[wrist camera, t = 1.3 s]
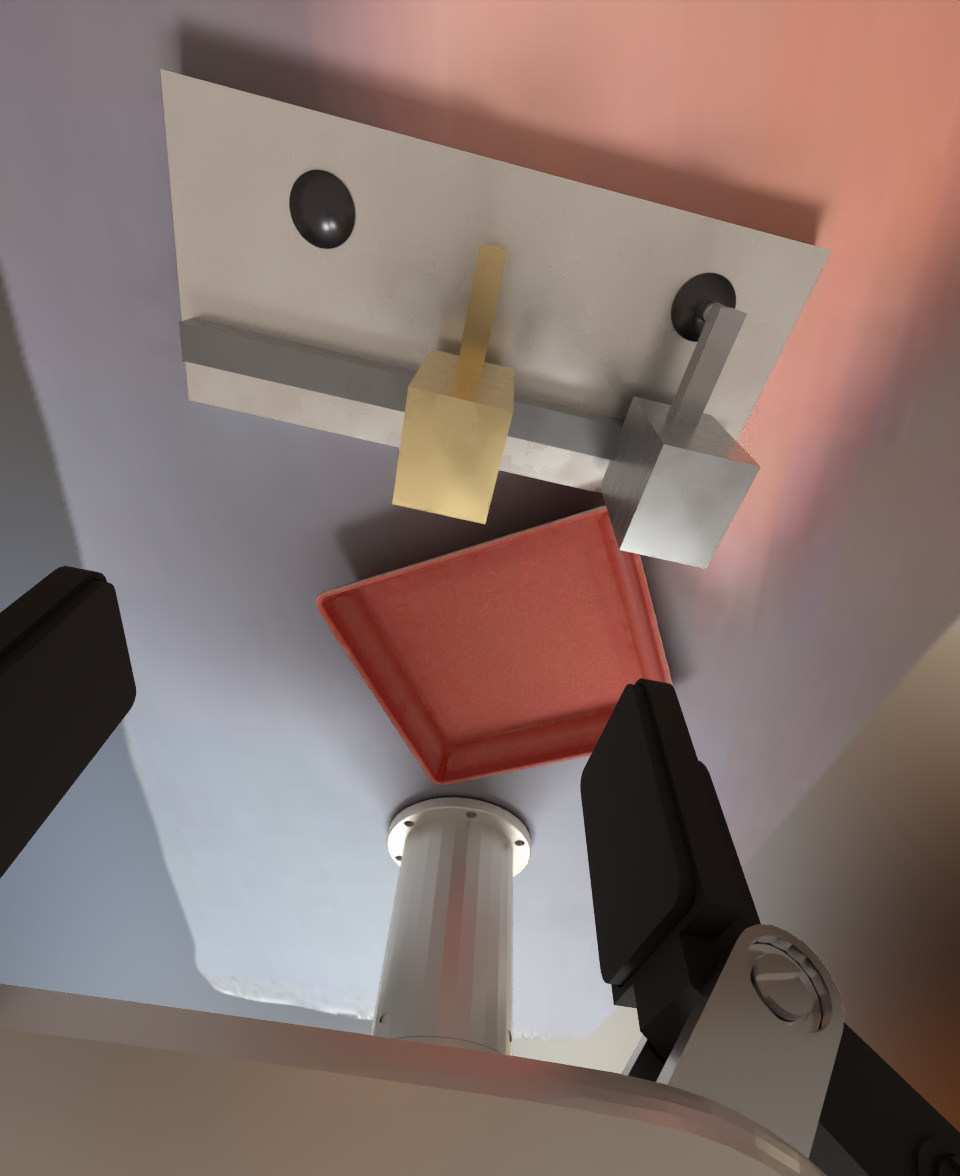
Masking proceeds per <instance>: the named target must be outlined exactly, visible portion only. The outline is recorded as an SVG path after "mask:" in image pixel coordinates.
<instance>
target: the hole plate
mask: <svg viewBox="0 0 960 1176" xmlns="http://www.w3.org/2000/svg"><path fill="white" fill-rule="evenodd" d="M160 70H161V82H162V93H163V105H164V117H165V128H166V140H167V152H168V163H169V175H170V187H171V198H172V210H173V222H174V233H175V245H176V257H177V269H178V280H179V292H180V304H181V315H182V321H181V322H179V324H180V335H181V346H182V358H183V361H185V362H186V374H187V385H188V397H189V400H191V401H195V402H200V403H204V404H209V405H213V406H218V407H222V408H226V409H231V410H235V411H240V412H244V413H248V414H253V415H257V416H262V417H266V418H271V419H275V420H279V421H284V422H288V423H293V424H297V425H302V426H306V427H310V428H315V429H319V430H324V431H328V432H332V433H337V434H341V435H346V436H350V437H355V438H359V439H363V440H368V441H372V442H377V443H381V444H385V445H390V446H394V447H399V448H400V443H401V435H402V428H403V421H404V414H405V406H406V399H407V392H408V386H409V385H410V383H411V381H412V380H413V378H414V376H415V375H416V373H417V371H418V370H419V368H420V366H421V365H422V363H423V361H424V360H425V358H426V356H427V355H428V353H429V352H430V350H431V349H433V350H437V351H442V352H446V353H450V354H454V355H458V356H459V354H460V349H461V343H462V338H463V332H464V327H465V322H466V316H467V311H468V305H469V300H470V294H471V289H472V283H473V278H474V273H475V267H476V262H477V256H478V251H479V245H480V244H481V243H482V244H486V245H490V244H498V245H499V246H500V247H501V248H502V249H505V250H508V251H507V256H506V261H505V265H504V270H503V275H502V280H501V284H500V289H499V294H498V299H497V304H496V308H495V313H494V318H493V323H492V327H491V332H490V337H489V342H488V347H487V351H486V356H485V361H484V362H487V363H491V364H495V365H500V366H504V367H508V368H512V369H514V412H513V416H512V420H511V424H510V427H509V431H508V435H507V439H506V443H505V447H504V451H503V455H502V459H501V463H500V467H499V470H500V471H505V472H509V473H514V474H518V475H522V476H527V477H531V478H536V479H540V480H545V481H549V482H553V483H558V484H562V485H567V486H571V487H575V488H580V489H584V490H589V491H593V492H598V493H602V494H603V498H604V501H605V504H606V508H607V511H608V514H609V517H610V521H611V524H612V527H613V531H614V534H615V537H616V540H617V544H618V547H619V550H622V551H627V552H631V553H636V554H640V555H645V556H650V557H654V558H659V559H663V560H668V561H672V562H677V563H682V564H686V565H691V566H695V567H700V568H704V569H706V567H707V566H708V564H709V562H710V560H711V558H712V556H713V554H714V553H715V551H716V549H717V547H718V545H719V543H720V541H721V540H722V538H723V536H724V534H725V532H726V530H727V528H728V527H729V525H730V523H731V521H732V519H733V517H734V515H735V513H736V512H737V510H738V508H739V506H740V504H741V502H742V500H743V499H744V497H745V495H746V493H747V491H748V489H749V487H750V486H751V484H752V482H753V480H754V478H755V476H756V474H757V473H758V471H759V469H760V466H759V465H758V464H757V463H756V462H755V461H754V459H753V458H752V457H751V456H750V455H749V454H748V453H747V452H746V451H745V450H744V449H743V448H742V447H741V446H740V445H739V444H738V443H737V440H738V438H739V436H740V434H741V432H742V430H743V428H744V426H745V424H746V422H747V420H748V418H749V416H750V414H751V412H752V410H753V408H754V406H755V404H756V402H757V400H758V398H759V395H760V393H761V391H762V389H763V387H764V385H765V383H766V381H767V379H768V377H769V375H770V373H771V371H772V369H773V367H774V365H775V363H776V361H777V359H778V357H779V355H780V353H781V351H782V349H783V347H784V345H785V343H786V341H787V339H788V337H789V335H790V333H791V331H792V329H793V327H794V325H795V323H796V321H797V319H798V317H799V315H800V313H801V311H802V309H803V307H804V305H805V303H806V301H807V299H808V297H809V295H810V293H811V291H812V289H813V287H814V285H815V283H816V281H817V279H818V277H819V275H820V273H821V271H822V269H823V267H824V265H825V263H826V261H827V259H828V257H829V255H830V253H831V251H832V250H828V249H825V248H821V247H817V246H814V245H810V244H806V243H803V242H799V241H795V240H791V239H788V238H784V237H780V236H777V235H773V234H769V233H766V232H762V231H758V230H754V229H751V228H747V227H743V226H740V225H736V224H732V223H729V222H725V221H721V220H717V219H714V218H710V217H706V216H703V215H699V214H695V213H692V212H688V211H684V210H680V209H677V208H673V207H669V206H666V205H662V204H658V203H655V202H651V201H647V200H643V199H640V198H636V197H632V196H629V195H625V194H621V193H618V192H614V191H610V190H607V189H603V188H599V187H595V186H592V185H588V184H584V183H581V182H577V181H573V180H570V179H566V178H562V177H558V176H555V175H551V174H547V173H544V172H540V171H536V170H533V169H529V168H525V167H521V166H518V165H514V164H510V163H507V162H503V161H499V160H496V159H492V158H488V157H484V156H481V155H477V154H473V153H470V152H466V151H462V150H459V149H455V148H451V147H447V146H444V145H440V144H436V143H433V142H429V141H425V140H422V139H418V138H414V137H411V136H407V135H403V134H399V133H396V132H392V131H388V130H385V129H381V128H377V127H374V126H370V125H366V124H362V123H359V122H355V121H351V120H348V119H344V118H340V117H337V116H333V115H329V114H325V113H322V112H318V111H314V110H311V109H307V108H303V107H300V106H296V105H292V104H288V103H285V102H281V101H277V100H274V99H270V98H266V97H263V96H259V95H255V94H251V93H248V92H244V91H240V90H237V89H233V88H229V87H226V86H222V85H218V84H214V83H211V82H207V81H203V80H200V79H196V78H192V77H189V76H185V75H181V74H178V73H174V72H170V71H166V70H163V69H160Z"/></svg>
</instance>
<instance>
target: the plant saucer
mask: <svg viewBox="0 0 960 1176" xmlns="http://www.w3.org/2000/svg"><path fill="white" fill-rule="evenodd" d="M315 603H316V606H317V609H318V611H319V612H320V613H321V615H322V616H323V618H324V619H325V621H326V622H327V624H328V625H329V627H330V629H331V630H332V632H333V633H334V635H335V636H336V638H337V640H338V641H339V643H340V644H341V646H342V647H343V648H344V650H345V651H346V653H347V655H348V656H349V658H350V659H351V661H352V662H353V664H354V665H355V667H356V669H357V670H358V671H359V673H360V675H361V676H362V678H363V679H364V681H365V683H366V684H367V686H368V687H369V689H370V690H371V691H372V693H373V694H374V696H375V697H376V699H377V700H378V702H379V703H380V705H381V706H382V708H383V710H384V711H385V712H386V714H387V716H388V717H389V718H390V720H391V722H392V723H393V725H394V726H395V727H396V729H397V730H398V732H399V734H400V735H401V737H402V738H403V740H404V741H405V743H406V744H407V746H408V747H409V748H410V750H411V752H412V753H413V755H414V756H415V758H416V759H417V761H418V762H419V763H420V765H421V767H422V768H423V770H424V772H425V773H426V774H427V776H428V777H429V779H430V780H431V781H432V782H433V783H435V784H439V785H447V784H452V783H458V782H463V781H468V780H473V779H477V778H483V777H487V776H492V775H497V774H502V773H507V772H512V771H517V770H522V769H526V768H532V767H536V766H542V765H547V764H551V763H556V762H562V761H565V760H572V759H577V758H581V757H586V756H591V754H592V752H593V750H594V748H595V746H596V744H597V742H598V740H599V738H600V736H601V734H602V732H603V730H604V728H605V726H606V724H607V722H608V720H609V718H610V716H611V714H612V712H613V710H614V708H615V706H616V704H617V702H618V700H619V698H620V696H621V694H622V692H623V690H624V688H625V687H626V685H628V684H635V683H636V681H637V680H638V679H640V678H644V679H649V680H654V681H659V682H664V683H670V684H671V685H672V686H673V683H672V680H671V676H670V670H669V666H668V663H667V659H666V656H665V652H664V648H663V643H662V640H661V636H660V632H659V628H658V622H657V618H656V615H655V612H654V607H653V604H652V600H651V595H650V592H649V589H648V584H647V579H646V575H645V572H644V568H643V564H642V560H641V556H640V554H636V553H631V552H627V551H622V550H619V547H618V544H617V540H616V537H615V534H614V531H613V527H612V524H611V521H610V517H609V514H608V511H607V508H606V505H602V506H599V507H596V508H593V509H590V510H587V511H583V512H580V513H577V514H573V515H570V516H567V517H564V518H560V519H557V520H554V521H551V522H548V523H544V524H541V525H538V526H535V527H531V528H528V529H525V530H522V531H518V532H515V533H512V534H509V535H505V536H502V537H499V538H496V539H492V540H489V541H486V542H483V543H480V544H476V545H473V546H470V547H467V548H463V549H460V550H457V551H454V552H451V553H447V554H444V555H441V556H438V557H434V558H431V559H428V560H425V561H422V562H418V563H415V564H412V565H409V566H405V567H402V568H399V569H396V570H392V571H389V572H386V573H382V574H379V575H376V576H373V577H369V578H366V579H363V580H359V581H356V582H353V583H350V584H346V585H343V586H340V587H337V588H333V589H330V590H327V591H324V592H322V593H320V594H319V595H318V596H317V598H316V601H315Z"/></svg>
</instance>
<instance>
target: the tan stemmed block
mask: <svg viewBox="0 0 960 1176" xmlns="http://www.w3.org/2000/svg"><path fill="white" fill-rule="evenodd" d="M507 251H508V250H505V249H502V248H501V247H500V246H499V245H498V244H490V245H486V244H482V243H481V244H480V245H479V251H478V256H477V262H476V267H475V273H474V278H473V283H472V289H471V294H470V300H469V305H468V311H467V316H466V322H465V327H464V332H463V338H462V343H461V349H460V354H459V356H458V355H454V354H450V353H446V352H442V351H437V350H433V349H431V350H430V352H429V353H428V355H427V356H426V358H425V360H424V361H423V363H422V365H421V366H420V368H419V370H418V371H417V373H416V375H415V376H414V378H413V380H412V381H411V383H410V385H409V386H408V392H407V399H406V406H405V414H404V421H403V428H402V435H401V443H400V450H399V457H398V464H397V472H396V479H395V486H394V494H393V501H392V504H395V505H399V506H404V507H408V508H413V509H418V510H422V511H427V512H431V513H436V514H440V515H445V516H450V517H454V518H459V519H463V520H468V521H473V522H477V523H482V524H485V523H486V519H487V515H488V511H489V507H490V503H491V499H492V495H493V491H494V487H495V483H496V479H497V475H498V471H499V467H500V463H501V459H502V455H503V451H504V447H505V443H506V439H507V435H508V431H509V427H510V424H511V420H512V416H513V412H514V369H512V368H508V367H504V366H500V365H495V364H491V363H487V362H484V361H485V356H486V351H487V347H488V342H489V337H490V332H491V327H492V323H493V318H494V313H495V308H496V304H497V299H498V294H499V289H500V284H501V280H502V275H503V270H504V265H505V261H506V256H507Z"/></svg>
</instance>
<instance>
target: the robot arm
mask: <svg viewBox="0 0 960 1176" xmlns="http://www.w3.org/2000/svg"><path fill="white" fill-rule="evenodd" d="M135 697H136V686H135V682H134V677H133V672H132V667H131V663H130V658H129V653H128V648H127V644H126V639H125V634H124V629H123V625H122V620H121V615H120V610H119V606H118V601H117V596H116V591H115V588H114V586H113V585H112V584H111V583H107V581H106V578H105V576H104V575H103V574H102V573H99V572H94V571H89V570H84V569H79V568H74V567H68V566H63V567H59V568H58V569H56V570H55V571H53V572H52V573H50V574H49V575H48V576H47V577H45V578H44V579H43V580H42V581H40V582H39V583H38V584H37V585H35V586H34V587H33V588H31V589H30V590H29V591H28V592H26V593H25V594H24V595H22V596H21V597H20V598H19V599H17V600H16V601H15V602H14V603H12V604H11V605H10V606H8V607H7V608H6V609H5V610H3V611H2V612H1V613H0V878H1V877H2V876H3V874H4V873H5V872H6V870H7V869H8V868H9V867H10V865H11V864H12V863H13V861H14V860H15V859H16V857H17V856H18V855H19V853H20V852H21V851H22V850H23V848H24V847H25V846H26V844H27V843H28V842H29V840H30V839H31V838H32V836H33V835H34V834H35V833H36V831H37V830H38V829H39V827H40V826H41V825H42V824H43V822H44V821H45V820H46V818H47V817H48V816H49V814H50V813H51V812H52V811H53V809H54V808H55V807H56V805H57V804H58V803H59V801H60V800H61V799H62V798H63V796H64V795H65V794H66V792H67V791H68V790H69V788H70V787H71V786H72V784H73V783H74V781H76V779H77V778H78V777H79V775H80V774H81V773H82V771H83V770H84V769H85V767H86V766H87V765H88V764H89V762H90V761H91V760H92V758H93V757H94V756H95V755H96V753H97V752H98V751H99V749H100V748H101V747H102V745H103V744H104V743H105V742H106V740H107V739H108V738H109V736H110V735H111V733H112V732H113V731H114V730H115V729H116V727H117V726H118V725H119V723H120V722H121V721H122V719H123V718H124V717H125V716H126V714H127V713H128V712H129V710H130V709H131V707H132V705H133V703H134V700H135ZM580 787H581V798H582V807H583V816H584V825H585V834H586V843H587V852H588V861H589V870H590V879H591V888H592V897H593V906H594V915H595V924H596V933H597V942H598V951H599V960H600V969H601V974H602V977H603V980H604V981H605V983H608V984H611V985H612V993H613V1001H614V1005H618V1006H625V1007H632V1008H637V1012H638V1019H639V1026H640V1031H641V1032H642V1033H643V1036H642V1038H641V1040H640V1041H639V1043H638V1045H637V1047H636V1049H635V1050H634V1052H633V1054H632V1056H631V1058H630V1059H629V1061H628V1063H627V1065H626V1067H625V1069H624V1070H623V1072H622V1074H618V1073H612V1072H606V1071H601V1070H595V1069H589V1068H582V1067H576V1066H570V1065H564V1064H558V1063H552V1062H546V1061H540V1060H534V1059H528V1058H522V1057H516V1056H512V1035H513V877H514V876H516V875H517V874H518V873H519V872H521V871H522V870H523V869H524V868H525V866H526V865H527V864H528V862H529V859H530V856H531V839H530V834H529V832H528V831H527V829H526V827H525V826H524V824H523V823H522V822H521V821H520V820H519V819H518V818H517V817H515V816H514V815H512V814H511V813H510V812H508V811H506V810H504V809H502V808H500V807H498V806H496V805H493V804H490V803H487V802H484V801H480V800H475V799H470V798H459V797H446V798H436V799H429V800H426V801H422V802H419V803H416V804H414V805H412V806H410V807H408V808H405V809H404V810H403V811H401V812H400V813H399V814H398V815H397V816H396V817H395V818H394V819H393V821H392V822H391V825H390V827H389V831H388V836H387V849H388V851H389V853H390V855H391V857H392V858H393V860H394V861H395V862H396V863H397V864H398V865H399V866H400V871H399V876H398V882H397V888H396V893H395V899H394V905H393V910H392V916H391V922H390V928H389V933H388V939H387V945H386V950H385V956H384V962H383V967H382V973H381V979H380V984H379V990H378V996H377V1001H376V1007H375V1013H374V1018H373V1024H372V1030H371V1035H365V1034H358V1033H351V1032H345V1031H338V1030H330V1029H323V1028H316V1027H309V1026H302V1025H294V1024H288V1023H281V1022H273V1021H266V1020H259V1019H252V1018H245V1017H238V1016H231V1015H224V1014H217V1013H209V1012H202V1011H195V1010H188V1009H181V1008H174V1007H166V1006H159V1005H152V1004H145V1003H137V1002H131V1001H123V1000H116V999H109V998H101V997H94V996H86V995H79V994H72V993H64V992H56V991H49V990H42V989H35V988H27V987H19V986H12V985H5V984H0V1176H960V1133H959V1132H958V1131H957V1130H956V1129H955V1128H954V1127H953V1126H952V1125H951V1124H950V1123H949V1122H948V1121H947V1120H946V1119H945V1118H944V1117H942V1115H941V1114H940V1113H938V1112H937V1111H936V1110H935V1109H934V1108H933V1107H932V1106H931V1105H930V1104H929V1103H928V1102H927V1101H926V1100H925V1099H924V1098H923V1097H922V1096H921V1095H920V1094H919V1093H918V1092H916V1091H915V1090H914V1089H913V1088H912V1087H911V1086H910V1085H909V1084H908V1083H907V1082H906V1081H905V1080H904V1079H903V1078H902V1077H901V1076H900V1075H899V1074H898V1073H896V1072H895V1071H894V1070H893V1069H892V1068H891V1067H890V1066H889V1065H888V1064H887V1063H886V1062H885V1061H884V1060H883V1059H882V1058H881V1057H880V1056H879V1055H878V1054H877V1053H876V1052H874V1051H873V1050H872V1049H871V1048H870V1047H869V1046H868V1045H867V1044H866V1043H865V1042H864V1041H863V1040H862V1039H861V1038H860V1037H859V1036H858V1035H857V1034H856V1033H855V1032H854V1031H853V1030H852V1029H851V1028H849V1027H848V1026H847V1025H846V1024H845V1023H844V1009H843V1005H842V1000H841V996H840V993H839V991H838V989H837V986H836V984H835V982H834V980H833V978H832V976H831V974H830V973H829V971H828V970H827V968H826V967H825V965H824V964H823V963H822V961H821V960H820V959H819V957H818V956H817V955H816V954H815V953H814V952H813V951H812V950H811V949H810V948H809V947H808V946H807V945H806V944H805V943H804V942H803V941H801V940H800V939H798V938H797V937H795V936H794V935H792V934H791V933H789V932H788V931H786V930H783V929H781V928H778V927H776V926H773V925H765V924H761V923H760V920H759V917H758V915H757V911H756V908H755V905H754V902H753V900H752V897H751V894H750V891H749V888H748V885H747V882H746V879H745V876H744V873H743V870H742V867H741V864H740V861H739V859H738V856H737V853H736V850H735V847H734V844H733V841H732V838H731V835H730V832H729V829H728V826H727V823H726V821H725V818H724V815H723V812H722V809H721V806H720V803H719V800H718V797H717V794H716V791H715V788H714V785H713V782H712V780H711V777H710V774H709V772H708V770H707V768H706V766H705V765H704V764H703V763H702V762H701V761H698V759H697V756H696V753H695V750H694V747H693V744H692V741H691V738H690V735H689V732H688V728H687V725H686V722H685V719H684V716H683V713H682V710H681V707H680V704H679V701H678V698H677V695H676V692H675V689H674V687H673V686H672V685H671V684H670V683H664V682H659V681H654V680H649V679H644V678H640V679H638V680H637V681H636V683H635V684H628V685H626V687H625V688H624V690H623V692H622V694H621V696H620V698H619V700H618V702H617V704H616V706H615V708H614V710H613V712H612V714H611V716H610V718H609V720H608V722H607V724H606V726H605V728H604V730H603V732H602V734H601V736H600V738H599V740H598V742H597V744H596V746H595V748H594V750H593V752H592V754H591V756H590V758H589V760H588V762H587V764H586V766H585V768H584V770H583V772H582V776H581V786H580Z"/></svg>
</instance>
